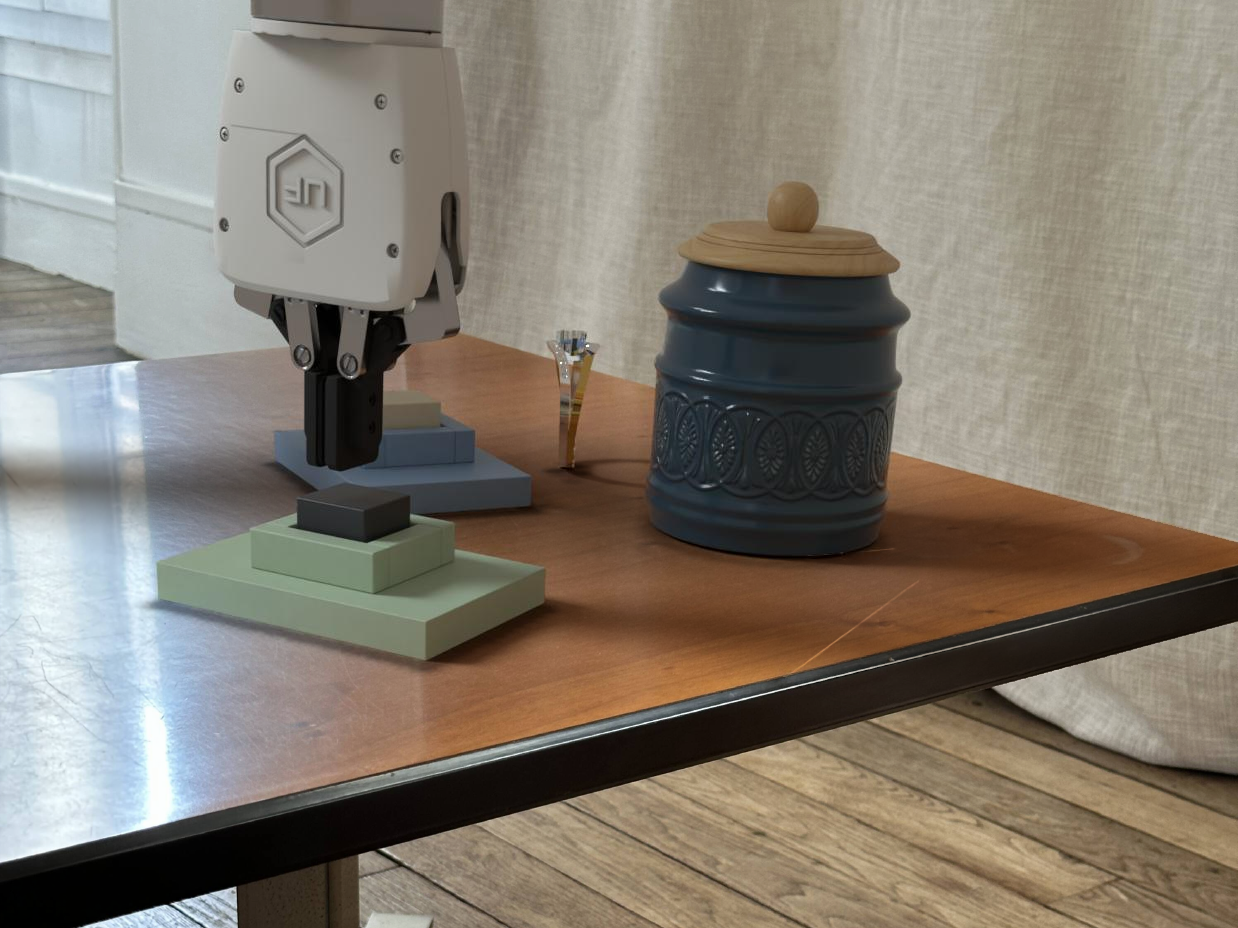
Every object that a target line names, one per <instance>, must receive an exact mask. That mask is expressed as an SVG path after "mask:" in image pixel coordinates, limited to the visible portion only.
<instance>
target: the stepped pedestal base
mask: <svg viewBox="0 0 1238 928" xmlns="http://www.w3.org/2000/svg"><path fill="white" fill-rule="evenodd" d="M155 564H156V567H155V568H156V585H157V599H158V600H161V601H167V602H171V603H175V604H179V605H183V606H188V607H191V608H196V609H201V610H205V611H209V612H212V613H213V612H214V613H218V614H221V615H228V616H230V617H235V618H239V619H244V620H249V621H251V622H252V621H253V622H257V623H261V624H265V625H269V626H274V627H279V628H283V629H286V630H291V631H296V632H300V633H304V634H309V635H312V636H318V637H321V638H325V639H329V640H335V641H338V642H342V643H347V644H352V645H355V646H360V647H364V648H369V649H373V650H376V651H381V652H386V653H390V654H394V655H400V656H404V657H406V658H407V657H408V658H411V659H417V660H420V661H425V662H426V661H429V660H431V659H433V658H435V657H437V656H439V655H441V654H443V653H445V652H447V651H449V650H451V649H453V648H455V647H457V646H460V645H461V644H463V643H465V642H468V641H469V640H472V639H474V638H476V637H478V636H479V635H482V634H484V633H485V632H488V631H489V630H492V629H494V628H496V627H498V626H500V625H502V624H504V623H506V622H508V621H510V620H513V619H515V618H516V617H519V616H520V615H522V614H524V613H527V612H528V611H531V610H533V609H535V608H537V607H538V606H541V605H543V604H545V599H546V598H545V595H546V575H547V574H546V572H547V571H546V570H547V568H546V566H541V565H537V564H536V565H535V564H531V563H526V562H523V561H518V560H517V561H516V560H511V559H506V558H502V557H501V558H500V557H497V556H492V555H487V554H481V553H477V552H472V551H467V550H461V549H457V548H456V523H455V522H454V521H448V520H443V519H439V518H433V517H429V516H428V517H427V516H423V515H413V514H410V528H407V529H404V530H401V531H399V532H396V533H393V534H391V535H388V536H385V537H383V538H380V539H377V540H374V541H372V542H369V543H363V542H358V541H353V540H348V539H343V538H338V537H333V536H328V535H323V534H319V533H314V532H309V531H304V530H299V529H297V512H295V513H292V514H290V515H285V516H283V517H280V518H277V519H273V520H271V521H267V522H265V523H261V524H258V525H255V526H252V527H249V531H247V532H244V533H240V534H238V535H235V536H232V537H227V538H225V539H222V540H218V541H216V542H213V543H210V544H208V545H204V546H201V547H197V548H195V549H192V550H189V551H186V552H182V553H180V554H177V555H173V556H170V557H168V558H167V557H166V558H165V559H164V558H163V559H162V560H159V561H156V562H155Z"/></svg>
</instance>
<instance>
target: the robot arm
mask: <svg viewBox="0 0 1238 928" xmlns="http://www.w3.org/2000/svg"><path fill="white" fill-rule="evenodd" d="M250 16H251V17H250V29H244V28H243V29H241V28H235V29H234V30H233V33H232V37H231V42H230V47H229V51H228V55H227V60H226V65H225V71H224V76H223V82H222V88H221V97H220V104H219V112H218V122H217V123H218V124H217V134H216V145H215V146H216V148H215V163H214V181H213V182H214V185H213V187H214V188H213V229H212V231H213V251H214V260H215V265H216V267H217V270H218V271H219V273H220V275H222V276H223V278H224V279H226V280H227V281H229V282H230V283H232V284H233V285H234V288H233V297H234V301H235V302H236V304H237V305H238V306H240V307H241V308H244V309H246V310H247V311H249V312H252V313H254V314H256V315H258V316H260V317H262V318H263V319H266V320H271V321H272V323H273V324H274V325H275V327H276V328H277V330H278V331H279V333H280V334H281V336H282V337H283V338H284V341H286V343H287V344H288V345H289V353H290V358H291V362H292V364H293V365H294V367H295V368H296V369H298V370H300V371H302V372H303V373H304V375H303V379H304V380H303V395H304V396H303V430H304V432H305V436H306V460H307V463H308V464H309V465H311V466H316V467H324V466H328V468H329V469H330V470H335V471H339V472H342V471H345V470H349V469H352V468H355V467H359V466H362V465H365V464H368V463H372V462H374V461H376V459H377V457H378V454H379V445H380V443H381V440H382V427H383V391H384V378H385V377H384V376H385V375H384V373H385V372H389V371H392V370H393V369H394V368H395V367H396V365H397V362H398V359H399V358H400V357H401V356H402V355H403V354H404V353H405V352H406V351H407V350H408V349H409V348H410V347H411V346H412V345H414V344H420V343H427V342H435V341H441V340H446V339H451V338H454V337H456V336H457V335H458V334H460V331H461V320H460V311H459V306H458V299H457V296H459V295H460V294H461V293H462V291H463V290H464V287H465V285H466V284H465V283H466V280H467V273H468V265H469V253H470V235H471V234H470V232H471V231H470V229H471V228H470V221H471V219H470V218H471V215H470V213H471V211H470V210H471V209H470V207H471V206H470V205H471V203H470V202H471V201H470V195H471V194H470V168H469V148H468V147H469V146H468V134H467V133H468V132H467V122H466V111H465V103H464V96H463V88H462V82H461V81H462V80H461V75H460V69H459V64H458V59H457V53H456V49H455V47H449V46H444V26H445V25H444V23H445V22H444V21H445V0H250ZM414 301H415V304H414V308H413V309H412V310H411V311H408V312H405V310H406V307H408V306H409V305H411V304H412V302H414Z"/></svg>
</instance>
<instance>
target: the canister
mask: <svg viewBox="0 0 1238 928" xmlns="http://www.w3.org/2000/svg"><path fill="white" fill-rule="evenodd" d="M819 203H820V201H819V198H818V196H817V193H816V192H815V190H814V189H813V188H812V187H811V186H810V185H809V184H807V183H804V182H802V181H795V180H794V181H791V180H790V181H785V182H782V183H780V184H779V185H777V186H776V187H775V188H774V189H773V191H772V192H771V194H770V196H769V198H768V201H767V205H766V218H767V220H727V221H725V220H724V221H716V222H711V223H708V224H707V225H706V227H705V228H704V229H703V231H701V232H699V233H698V234H696V235H695V236H693V237H690V238H689V239H687V240H685V241H683V242H682V243H680V244H679V245H678V246H677V254H678V256H680V258H683V259H685V260H686V262H685V265H684V267H683V269H682V271H681V274H680V275H679V277H678V278H677V279H676V280H674V281H672V282H670V283H669V284H668V285H666V286H664V287H663V288H662V289H661V290H660V291H659V292H658V294H657V301H658V303H659V304H660V306H661V307H662V308H663V310H664V311H665V313H666V326H665V327H666V328H665V334H664V336H665V337H664V342H663V347H662V350H661V351H660V352H659V353H658V354H656V356H655V357H654V359H653V367H654V368H655V371H656V372H655V373H656V374H655V388H654V403H653V405H654V406H653V419H652V433H651V434H652V435H651V448H650V461H649V462H650V463H649V464H650V465H649V468H648V469H647V471H646V474H645V480H646V483H647V484H646V486H645V492H644V494H645V499H646V501H647V505H648V520H649V521H650V523H651V524H652V525H653V526H654V527H655V528H656V529H658V530H659V531H661V532H663V533H664V534H666V535H668V536H670V537H673V538H676V539H678V540H681V541H684V542H687V543H691V544H695V545H697V546H702V547H706V548H710V549H715V550H720V551H728V552H733V553H734V552H735V553H742V554H750V555H759V556H777V557H816V556H829V555H839V554H843V553H849V552H854V551H857V550H860V549H863V548H865V547H868V546H870V545H871V544H872V543H874V542H875V541H877V539H878V538H879V535H880V530H881V526H882V523H883V521H884V519H885V518H886V515H887V512H888V509H887V508H888V507H887V503H888V500H889V496H890V495H889V489H888V475H889V467H890V459H891V450H892V443H893V434H894V427H895V419H896V410H897V402H898V395H899V390H900V388H901V386H902V384H903V375H902V373H901V372H900V371H899V370H898V369H897V344H898V343H897V342H898V334H899V331H900V330H901V329H902V328H903V327H904V326H905V325H906V324H907V323H908V322H909V321H910V319H911V318H912V317H911V316H912V312H911V309H910V308H909V307H908V305H907V304H906V303H904V302H903V301H902V300H900V299H899V297H897V296H896V295H895V294H894V293H893V289H892V285H891V281H890V277H889V275H891V274H894V273H897V272H898V271H899V269H900V268H901V262H900V260H899V259H898V258H896V257H895V256H894V255H893V254H891V253H890V252H889V251H887V250H886V249H884V247H882V246H881V245H880V244H879V243H878V240H877V239H876V237H875V236H874V235H873V234H870V233H867V232H864V231H860V230H856V229H851V228H844V227H837V226H830V225H823V224H822V225H821V224H816V223H817V221H818V217H819V213H820V204H819Z"/></svg>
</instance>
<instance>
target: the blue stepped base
mask: <svg viewBox="0 0 1238 928" xmlns="http://www.w3.org/2000/svg"><path fill="white" fill-rule="evenodd" d="M273 443H274V460H275V461H276V462H277V463H279V464H280V465H282V466H284V467H285V468H286V469H288V470H289V471H290V472H292V473H293V474H295V475H296V476H297V477H299V478H300V479H301V480H303V481H305V482H306V483H307V484H308V485H310V486H312V487H313V488H314V489H316V491H319V490H322V489H325V488H328V487H331V486H335V485H338V484H341V483H344V482H345V483H350V484H355V485H361V486H366V487H371V488H377V489H382V490H387V491H392V492H398V493H403V494H408V495H410V514H413V515H418V516H420V515H430V514H432V515H433V514H444V513H445V514H446V513H458V512H459V513H460V512H472V511H485V510H486V511H487V510H499V509H500V510H501V509H513V508H527V507H531V503H532V502H531V501H532V478H533V477H532V476H531V475H530V474H528V473H526V472H524V471H522V470H521V469H519V468H517V467H515V466H513V465H511V464H510V463H508V462H506V461H504V460H502V459H500V458H498V457H496V456H494V455H493V454H491V453H489V452H488V451H485V450H484V449H481V448H480V447H478V446H476V430H475V429H473V428H472V427H470V426H468V425H466V424H464V423H462V422H460V421H458V420H456V419H454V418H452V417H450V416H449V415H448V414H444V413H443V412H441V426H440V427H431V428H411V429H390V430H382V440H381V443H380V445H379V454H378V457H377V459H376V461H374V462H372V463H368V464H365V465H362V466H359V467H355V468H352V469H349V470H345V471H342V472H339V471H335V470H330V469H329V468H328V466H324V467H316V466H311V465H309V464H308V463H307V460H306V436H305V432H304V429H287V430H284V429H283V430H275V431H274V432H273Z"/></svg>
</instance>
